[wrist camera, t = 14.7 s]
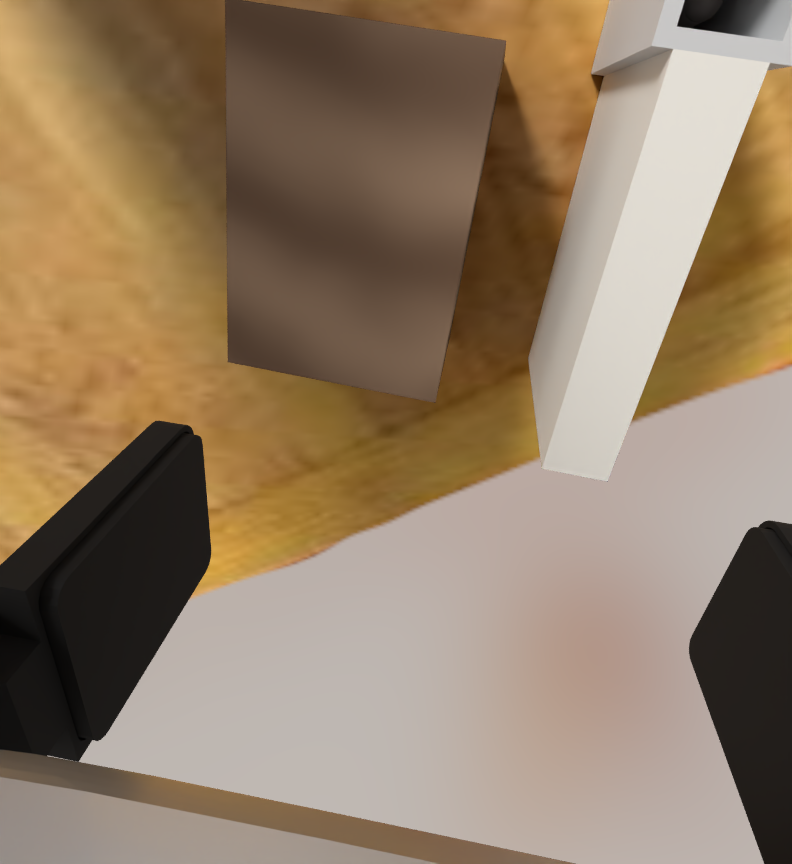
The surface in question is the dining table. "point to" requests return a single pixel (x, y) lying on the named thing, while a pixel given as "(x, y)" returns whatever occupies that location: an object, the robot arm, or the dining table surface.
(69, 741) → the robot arm
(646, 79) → the door
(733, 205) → the dining table surface
